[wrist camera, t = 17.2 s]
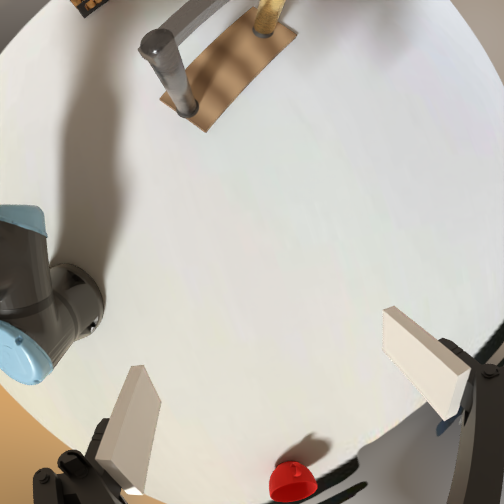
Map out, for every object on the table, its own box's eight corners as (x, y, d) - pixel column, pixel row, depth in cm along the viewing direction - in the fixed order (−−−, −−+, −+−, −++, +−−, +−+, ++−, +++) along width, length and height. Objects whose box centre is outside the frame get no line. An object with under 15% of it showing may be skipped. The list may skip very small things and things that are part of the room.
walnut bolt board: (204, 134, 45) (203, 133, 44) (159, 103, 43) (157, 100, 42) (295, 38, 42) (297, 34, 41) (252, 10, 40) (253, 6, 39)
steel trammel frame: (188, 119, 43) (157, 61, 19) (174, 109, 42) (133, 47, 19) (281, 24, 40) (320, -61, 16) (268, 15, 39) (299, -72, 16)
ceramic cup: (316, 444, 65) (325, 470, 55) (305, 474, 69) (312, 498, 59) (269, 448, 64) (274, 477, 54) (263, 478, 67) (267, 504, 58)
